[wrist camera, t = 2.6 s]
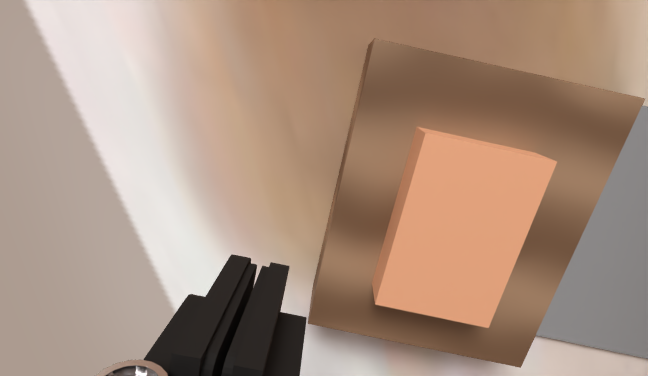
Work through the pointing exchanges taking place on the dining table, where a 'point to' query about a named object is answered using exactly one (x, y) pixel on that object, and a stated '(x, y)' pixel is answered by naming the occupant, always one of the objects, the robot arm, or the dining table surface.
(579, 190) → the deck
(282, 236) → the dining table surface
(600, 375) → the dining table surface
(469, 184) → the peach rectangular tile
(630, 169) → the mat
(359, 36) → the dining table surface
